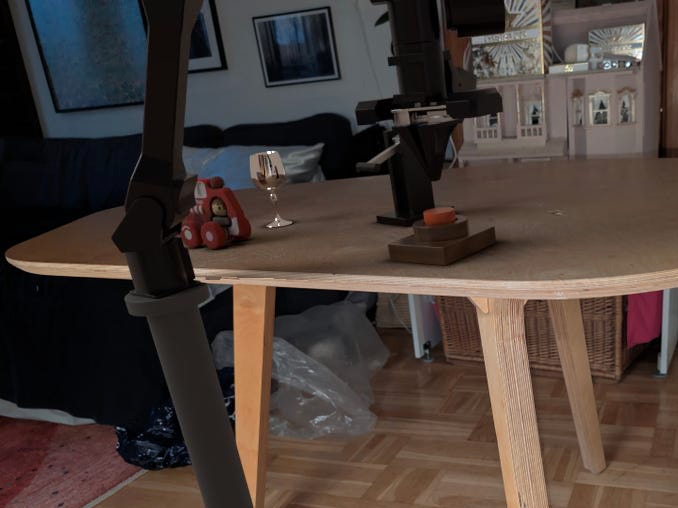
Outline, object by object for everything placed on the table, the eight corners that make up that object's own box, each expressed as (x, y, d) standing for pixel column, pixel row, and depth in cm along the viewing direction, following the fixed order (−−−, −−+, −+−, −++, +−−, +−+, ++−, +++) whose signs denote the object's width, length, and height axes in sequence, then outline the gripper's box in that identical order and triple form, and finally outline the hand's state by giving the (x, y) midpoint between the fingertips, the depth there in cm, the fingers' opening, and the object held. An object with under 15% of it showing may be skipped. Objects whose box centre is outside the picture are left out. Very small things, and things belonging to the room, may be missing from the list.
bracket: (406, 226, 108) (392, 133, 103) (376, 222, 114) (362, 134, 108) (455, 213, 114) (444, 124, 109) (424, 210, 120) (413, 125, 114)
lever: (378, 176, 104) (371, 161, 103) (359, 175, 108) (352, 161, 106) (424, 144, 109) (418, 129, 107) (405, 144, 112) (398, 130, 111)
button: (443, 228, 87) (441, 214, 86) (418, 227, 89) (416, 213, 88) (462, 221, 90) (460, 207, 89) (438, 220, 92) (436, 206, 91)
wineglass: (255, 228, 120) (238, 156, 116) (276, 220, 125) (261, 151, 121) (282, 228, 118) (266, 154, 114) (302, 220, 123) (288, 149, 118)
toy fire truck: (229, 250, 106) (211, 180, 102) (176, 247, 112) (158, 181, 108) (263, 239, 111) (248, 172, 107) (211, 237, 117) (195, 173, 113)
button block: (445, 265, 84) (441, 232, 83) (390, 260, 89) (385, 229, 88) (496, 242, 92) (493, 212, 91) (442, 239, 97) (439, 210, 96)
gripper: (522, 31, 82) (533, 168, 88) (402, 49, 92) (419, 170, 98) (466, 35, 74) (482, 185, 80) (342, 54, 84) (364, 185, 90)
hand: (435, 180), depth 87 cm, fingers closed
